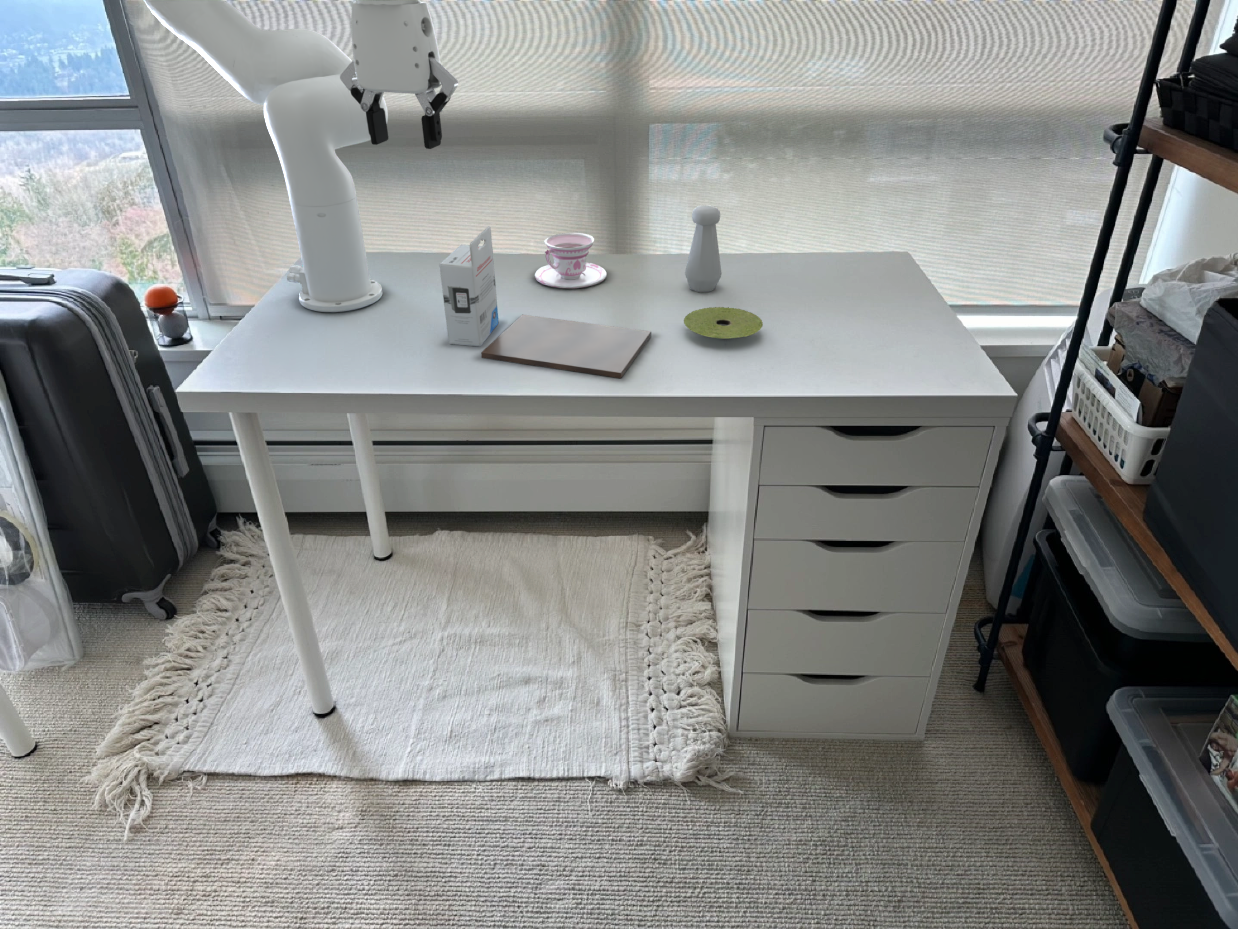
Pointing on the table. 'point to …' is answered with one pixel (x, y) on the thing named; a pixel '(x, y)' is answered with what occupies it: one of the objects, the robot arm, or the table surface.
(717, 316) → the green grinding disc
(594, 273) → the teacup
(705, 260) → the salt shaker
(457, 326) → the ink box
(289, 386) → the table surface
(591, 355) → the walnut board
